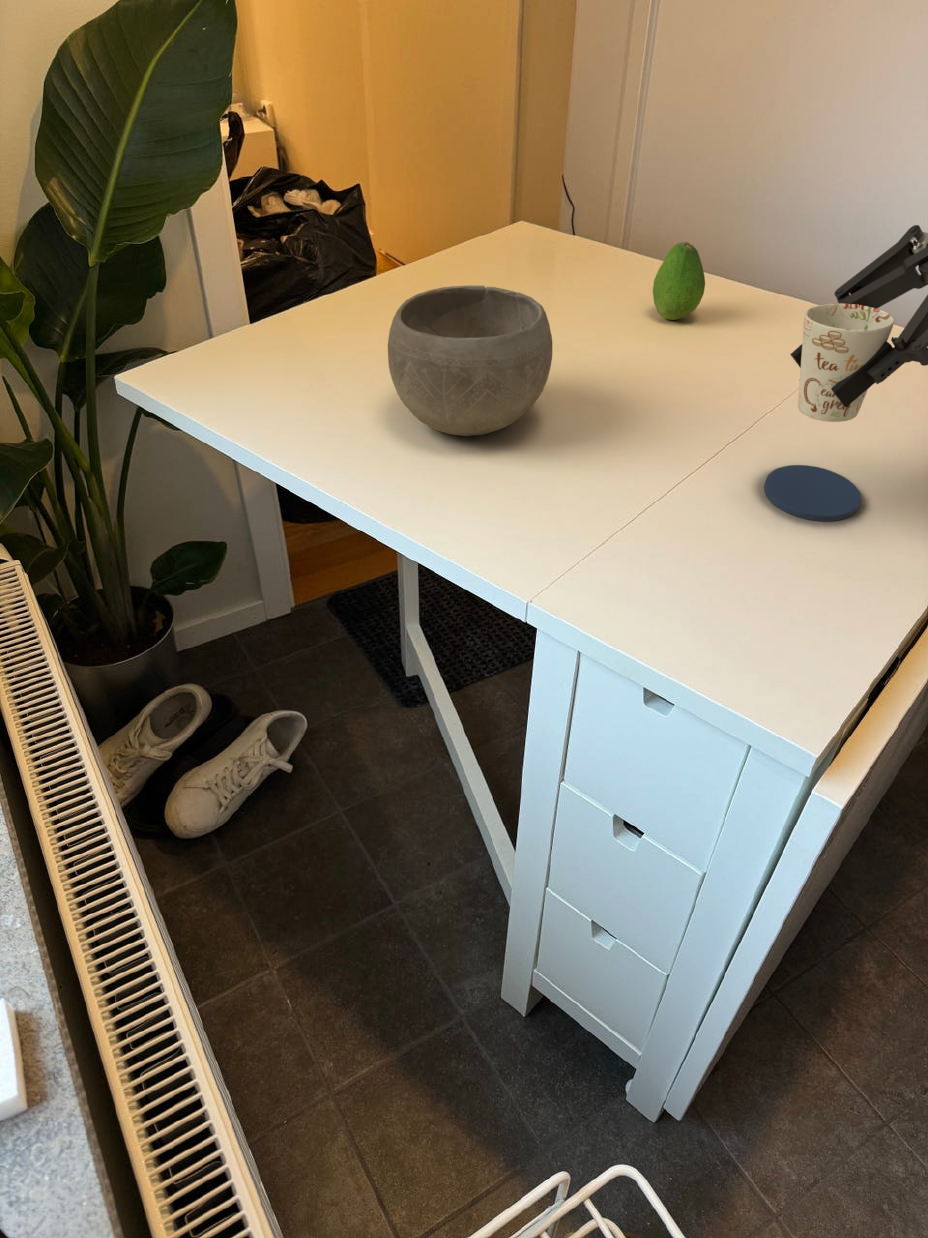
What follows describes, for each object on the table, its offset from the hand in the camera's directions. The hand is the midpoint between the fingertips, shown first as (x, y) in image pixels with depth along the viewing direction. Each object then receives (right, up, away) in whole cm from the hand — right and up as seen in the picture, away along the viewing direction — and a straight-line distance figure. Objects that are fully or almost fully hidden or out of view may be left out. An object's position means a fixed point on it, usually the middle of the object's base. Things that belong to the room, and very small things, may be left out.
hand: (817, 379), depth 93 cm
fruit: (-3, +24, +52) cm, 57 cm away
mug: (+3, -2, +3) cm, 5 cm away
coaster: (+5, -10, +13) cm, 17 cm away
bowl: (-36, +2, +26) cm, 45 cm away
